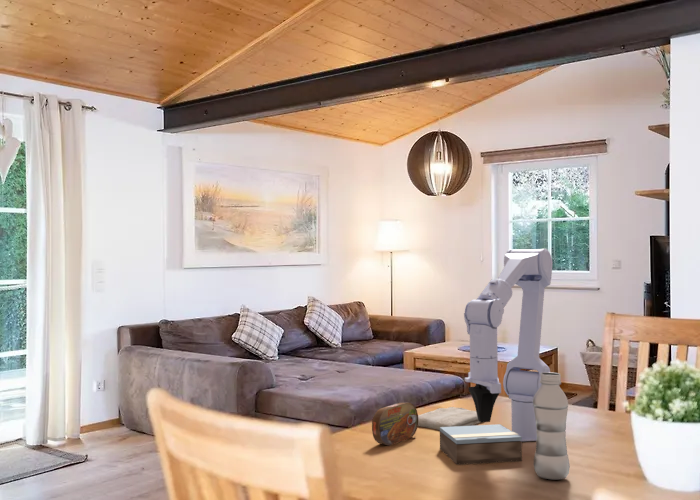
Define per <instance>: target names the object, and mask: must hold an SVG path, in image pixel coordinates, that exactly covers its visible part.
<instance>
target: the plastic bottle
mask: <svg viewBox="0 0 700 500" xmlns="http://www.w3.org/2000/svg"><path fill="white" fill-rule="evenodd" d="M561 377H562V376H561V373H558V372H553V371H552V372H551V371H550V372H544V373H541V380H540V383H541V384H542V385H541V387H540V388H539V390H538V391H537V392H536V394H535V395H534V398H533V406H534V413H535V419H536V428H537V430H536V432H537V439H536V441H535V452H534V458H533V468H534V472H535V473H536V475H537V476H538V477H539V478H542V479H546V480H547V479H548V480H552V481H553V480H556V481H557V480H564V479H567V477H568V476H569V473H570V467H571V465H570V458H569V454H568V448H567V438H566V436H567V435H566V434H567V432H566V430H567V417H568V410H569V400H568V396H566V394H565V392H564V391H563V389H562V388H561V387H560V385H562V381H561Z"/></svg>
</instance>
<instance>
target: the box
mask: <svg viewBox="0 0 700 500" xmlns="http://www.w3.org/2000/svg"><path fill="white" fill-rule="evenodd" d="M522 443H523V441H508V442H489V443H470V444H456V443H455V442H453V441H452V440H451V439H449V438H448V437H447V436H446V435H444V434H443V433H442V432H441V431H440V430H439V450H440V451H441V452H442V453H443V454H445V455H446V457H448V458H449V459H450V461H452V462H453V463H455V465H459V466H461V465H475V464H491V463H492V464H493V463H494V464H495V463H509V462H510V463H511V462H522V461H523V460H522V459H523V457H522V455H523V454H522V453H523V451H522V449H523V448H522V446H523V445H522Z"/></svg>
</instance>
